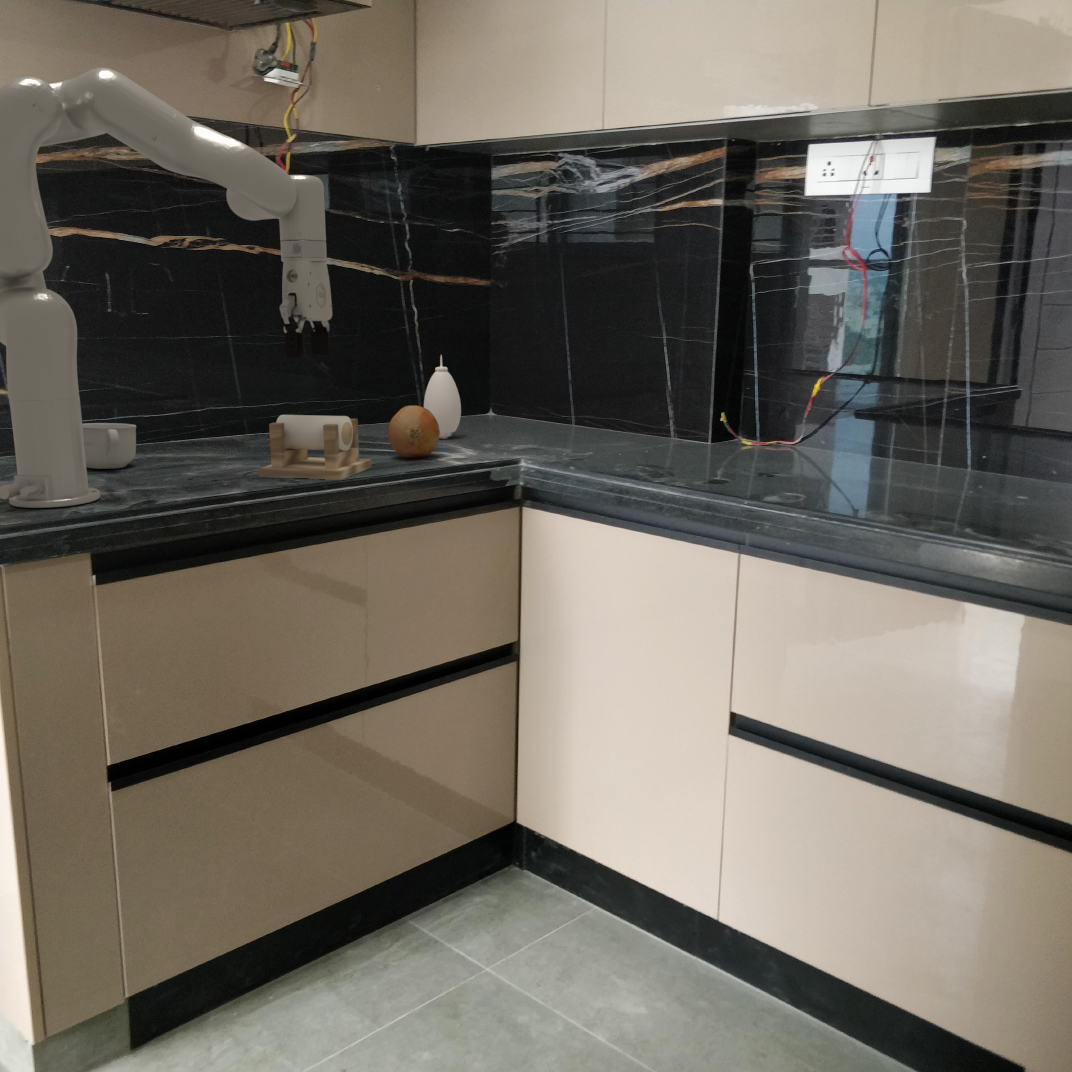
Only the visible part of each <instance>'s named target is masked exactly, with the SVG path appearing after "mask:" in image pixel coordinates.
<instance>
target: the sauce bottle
mask: <svg viewBox="0 0 1072 1072" xmlns="http://www.w3.org/2000/svg"><path fill="white" fill-rule="evenodd" d="M439 359H440V360H439V362H440V363H439V364H440V365H439V366H437V367H435V369H434V370H435V371H434V373H433V374H432V375H431V377H430V378H429V381H428V384H427V386H426V389H425V394H424V399H423V408H426V409H428V410H429V411H430V412H431V413H432V414H433V415H434V417H435V418H436V420H437V422H438V425H439V430H440V435H439V439H441V440H443V439H444V440H445V439H448V438H449V437H452V433H454V432H456V431H457V429H458V427H459V424H460V422H461V416H462V404H461V397H460V394H459V390H458V387H457V385H456V382H455V380H454V378H453V376H452V375H451V373H450V372H449V369H448V367H447V366H443V355H442V354H440V357H439Z"/></svg>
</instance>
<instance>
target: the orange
mask: <svg viewBox="0 0 1072 1072" xmlns="http://www.w3.org/2000/svg"><path fill="white" fill-rule="evenodd" d="M387 432H388V440H389V444H390V446H391V447H392V449H393V450H394V451H395V452H396V453H397V454H398V455H400V456H401V457H405V458H416V459H420V458H421V459H422V458H425V457H428V456H429V455H431V453H433V452H434V451H435V449H436V448H437V446H438V444H439V443H438V442H439V435H440V430H439V425H438V422H437V420H436V418H435V417H434V415H433V414H432V413H431V412H430V411H429V410H428V409H426V408H424V406H420V405H405V406H403V407H402V408H400V409H399V411H397V412H396V414H394V416H392V418H391V420H390V422H389V425H388V431H387Z"/></svg>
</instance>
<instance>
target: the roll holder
mask: <svg viewBox="0 0 1072 1072" xmlns="http://www.w3.org/2000/svg"><path fill="white" fill-rule="evenodd" d="M358 419H359V418H350V420H351V422H352V426H353V440H352V444H351V447H350V449H349V450H347V451H339V434H338V424H325V425H323V432H324V450H323V451H324V452H323V453H324V457H315V456H313V457H311V456H308V450H301V449H286V448H285V430H284V423H276V422H271V423H269V424H268V427H269V428H268V429H269V430H268V431H269V445H270V459H271V460H270V461H271V464H269V465H265V466H261V467H259V468H258V469H257V470H258V472H257V473H258V478H267V479H268V478H274V479H293V478H309V479H308V480H319V479H325V481H342V480H344V479H347V478H349V477H352V476H354V475H356V474H360V473H362V472H364V471H366V470H370V469H372V459H369V458H360V447H359V444H360V443H359V424H358V423H359V420H358Z"/></svg>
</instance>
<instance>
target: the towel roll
mask: <svg viewBox="0 0 1072 1072" xmlns="http://www.w3.org/2000/svg"><path fill="white" fill-rule="evenodd" d="M350 419H351V418H350V417H349V416H347V415H318V414H317V415H313V414H312V415H311V414H310V415H308V414H307V415H306V414H281V415H279V416H278V417H277V419H276V422H275V423H284V430H285V448H286V449H301V450H307V451H308V450H310V451H324V432H323V425H325V424H338V434H339V451H347V450H349V449H350V447H351V444H352V440H353V426H352V422H351V420H350Z"/></svg>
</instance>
